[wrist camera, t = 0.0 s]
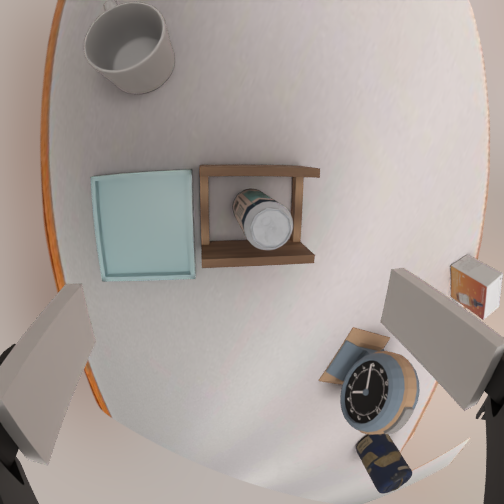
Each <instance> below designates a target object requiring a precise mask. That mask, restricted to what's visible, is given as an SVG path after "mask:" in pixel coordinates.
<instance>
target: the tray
mask: <svg viewBox="0 0 504 504" xmlns="http://www.w3.org/2000/svg"><path fill="white" fill-rule="evenodd" d="M91 193H92V206H93V217H94V227H95V236H96V244H97V251H98V258H99V265H100V271H101V277H102V281H145V280H177V279H195V276H196V272H195V253H194V229H193V194H192V169H185V170H163V171H146V172H132V173H120V174H109V175H99V176H93V177H91Z"/></svg>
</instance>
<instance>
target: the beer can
mask: <svg viewBox="0 0 504 504" xmlns="http://www.w3.org/2000/svg"><path fill="white" fill-rule="evenodd" d="M233 212H234V215H235V217H236V219H237V221H238V223H239V225H240V226H241V228H242V230H243V232H244V234H245V236H246V238H247V240H248V241H249V242H250V243H251V244H252V245H253V246H254V247H256V248H258V249H262V250H274V249H277V248H279V247H281V246H282V245H283V244H285V243H286V242H287V241H288V239H289V238H290V236H291V233H292V230H293V219H292V216H291V214H290V212H289V211H288V210H287V208H285V207H284V206H283V205H281V204H280V203H278V202H276V201H275V200H273V199H272V198H270V197H269V196H267V195H265V194H264V193H263V192H261V191H259V190H256V189H248V190H245V191H243V192H241V193H240V194H239V195H238V196H237V197H236V198H235V201H234V203H233Z"/></svg>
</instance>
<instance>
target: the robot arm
mask: <svg viewBox="0 0 504 504" xmlns="http://www.w3.org/2000/svg"><path fill="white" fill-rule="evenodd" d="M381 323H382V324H383V325H384V326H385V327H386V328H387V329H388V330H389V331H390V332H391V333H392V334H393V335H394V336H395V337H396V338H397V339H398V340H399V341H400V342H401V343H402V345H403V346H404V347H405V348H406V349H407V350H408V351H409V352H410V353H411V354H412V355H413V356H414V357H415V358H416V359H417V360H418V361H419V362H420V363H421V364H422V365H423V367H424V368H425V369H426V370H427V371H428V372H429V373H430V374H431V375H432V376H433V377H434V378H435V379H436V380H437V382H438V383H439V384H440V385H441V386H442V387H443V388H444V389H445V390H446V391H447V392H448V394H449V395H450V396H451V397H452V398H453V399H454V400H455V401H456V402H457V404H459V406H460V407H461V408H462V409H463V410H464V411H465V410H467V409H469V408H471V407H472V406H474V405H475V404H477V403H478V401H479V399H480V397H481V396H482V394H483V392H484V391H485V392H486V393H487V394H488V396H487V398H486V400H485V402H484V403H483V405H482V407H481V408H480V410H479V412H478V413H477V415H476V419H478V418H479V417H480V415H481V413H482V412H485V414H484V415H483V417H482V418H481V419H483V420H486V436H487V437H486V438H487V459H486V482H485V494H484V504H504V337H502V336H501V335H499V334H498V333H497V332H496V331H494V330H493V329H492V328H490V327H489V326H488V325H486V324H485V323H484V322H482V321H481V320H479V319H478V318H477V317H475V316H474V315H472V314H471V313H470V312H468V311H467V310H466V309H464V308H463V307H461V306H460V305H458V304H457V303H456V302H454V301H453V300H451V299H450V298H448V297H447V296H445V295H444V294H443V293H441V292H440V291H438V290H437V289H435V288H434V287H432V286H431V285H429V284H428V283H426V282H425V281H423V280H422V279H420V278H419V277H417V276H416V275H414V274H412V273H411V272H409V271H408V270H406V269H405V268H399V269H391V274H390V280H389V285H388V290H387V295H386V300H385V304H384V309H383V313H382V317H381ZM95 343H96V339H95V336H94V332H93V328H92V325H91V321H90V317H89V313H88V309H87V304H86V300H85V296H84V291H83V286H82V284H66V285H65V286H64V287H63V288H62V289H61V290H60V291H59V293H58V294H57V295H56V296H55V297H54V298H53V299H52V301H51V302H50V303H49V304H48V305H47V307H46V308H45V309H44V310H43V311H42V312H41V314H40V315H39V316H38V317H37V318H36V320H35V321H34V322H33V323H32V325H31V326H30V327H29V328H28V330H27V331H26V332H25V333H24V335H23V336H22V337H21V338H20V340H19V341H18V342H17V344H13V345H12V346H11V347H9V348H8V349H7V350H6V351H4V352H3V353H2V355H1V356H0V504H39V503H38V501H37V499H36V497H35V495H34V493H33V491H32V488H31V486H30V484H29V482H28V480H27V477H26V475H25V472H24V470H23V468H22V465H21V463H20V461H19V460H18V459H17V457H16V454H17V452H18V449H20V451H21V452H22V453H23V454H24V456H26V458H27V459H28V460H30V461H33V462H37V463H40V464H44V465H48V464H49V461H50V458H51V454H52V452H53V449H54V445H55V442H56V439H57V436H58V434H59V430H60V428H61V425H62V422H63V420H64V417H65V414H66V412H67V409H68V406H69V404H70V401H71V399H72V396H73V394H74V391H75V389H76V386H77V384H78V381H79V379H80V377H81V374H82V372H83V370H84V367H85V365H86V363H87V361H88V358H89V356H90V354H91V352H92V349H93V347H94V345H95Z"/></svg>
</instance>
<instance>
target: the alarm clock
mask: <svg viewBox="0 0 504 504" xmlns="http://www.w3.org/2000/svg"><path fill="white" fill-rule="evenodd" d="M389 339H390V337H386V336H382V335H379V334H375V333H371V332H368V331H364V330H361V329H357V328H354V327H353V328H352V330H351V331H350V333H349V335H348V336H347V338H346V339H345V341H344V343H343V344H342V346H341V347H340V349H339V350H338V352H337V354H336V355H335V357H334V358H333V360H332V361H331V363H330V364H329V366H328V367H327V369H326V370H325V372H324V373H323V375H322V376H321V377H320V379H319V381H322V382H328V383H335V384H342V390H341V401H340V403H341V409H342V412H343V415H344V417H345V419H346V420H347V422H348V423H349V424H350V425H351V426H352V427H354V428H355V429H357V430H359V431H360V432H362V433H365V434H369V435H373V434H384V433H385V434H393V433H395V432H397V431H398V430H399V429H401V428H402V427H403V426H404V425H405V424H406V422H407V421H408V420H409V418H410V416H411V415H412V413H413V410H414V409H415V406H416V404H417V401H418V397H419V380H418V377H417V373H416V371H415V369H414V368H413V366H412V364H411V363H410V362H409V361H408V360H407V359H406V358H404V357H403V356H402V355H399V354H396V353H392V352H388V351H384V349H383V348H384V347H385V345H386V344H387V342H388V341H389Z"/></svg>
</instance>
